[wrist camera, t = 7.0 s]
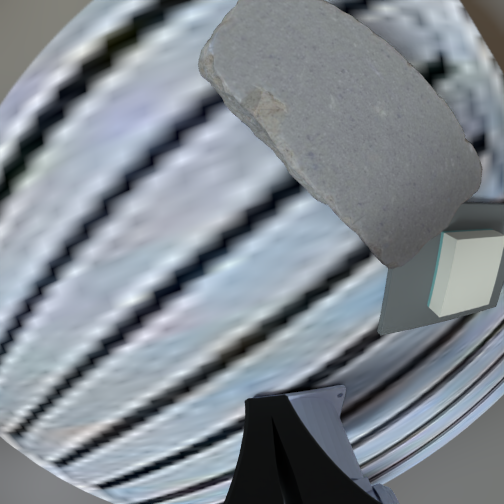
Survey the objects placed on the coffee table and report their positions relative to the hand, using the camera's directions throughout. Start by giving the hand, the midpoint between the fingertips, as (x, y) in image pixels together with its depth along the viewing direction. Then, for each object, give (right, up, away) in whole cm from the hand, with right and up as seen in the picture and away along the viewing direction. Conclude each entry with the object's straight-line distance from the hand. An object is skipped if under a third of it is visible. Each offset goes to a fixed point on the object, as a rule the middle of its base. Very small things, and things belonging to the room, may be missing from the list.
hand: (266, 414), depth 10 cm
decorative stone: (+4, +12, +7) cm, 15 cm away
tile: (+13, +4, +10) cm, 17 cm away
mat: (+16, +5, +11) cm, 20 cm away
